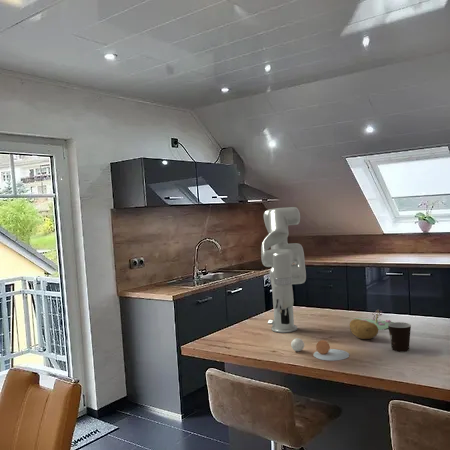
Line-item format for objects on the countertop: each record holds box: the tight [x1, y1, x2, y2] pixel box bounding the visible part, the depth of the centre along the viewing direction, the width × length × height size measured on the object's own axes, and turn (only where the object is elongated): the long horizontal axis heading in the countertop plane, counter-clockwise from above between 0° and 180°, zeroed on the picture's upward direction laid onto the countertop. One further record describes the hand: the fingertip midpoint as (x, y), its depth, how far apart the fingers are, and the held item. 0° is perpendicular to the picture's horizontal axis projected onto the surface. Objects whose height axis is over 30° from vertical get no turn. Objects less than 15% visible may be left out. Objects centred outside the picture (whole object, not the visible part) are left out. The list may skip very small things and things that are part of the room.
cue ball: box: [290, 337, 305, 352], centre depth 198 cm, size 5×5×5 cm
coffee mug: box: [387, 321, 412, 353], centre depth 193 cm, size 12×9×10 cm
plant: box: [352, 310, 394, 331], centre depth 235 cm, size 25×21×9 cm
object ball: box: [315, 339, 331, 354], centre depth 193 cm, size 5×5×5 cm
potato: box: [349, 318, 379, 340], centre depth 210 cm, size 10×14×8 cm
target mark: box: [313, 348, 350, 362], centre depth 191 cm, size 14×14×1 cm
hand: (285, 323), depth 203 cm, fingers closed
